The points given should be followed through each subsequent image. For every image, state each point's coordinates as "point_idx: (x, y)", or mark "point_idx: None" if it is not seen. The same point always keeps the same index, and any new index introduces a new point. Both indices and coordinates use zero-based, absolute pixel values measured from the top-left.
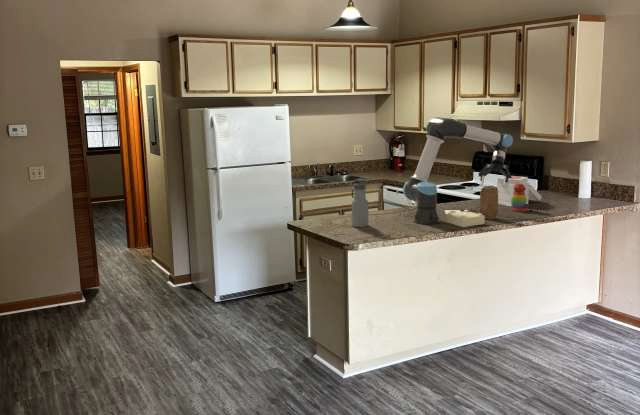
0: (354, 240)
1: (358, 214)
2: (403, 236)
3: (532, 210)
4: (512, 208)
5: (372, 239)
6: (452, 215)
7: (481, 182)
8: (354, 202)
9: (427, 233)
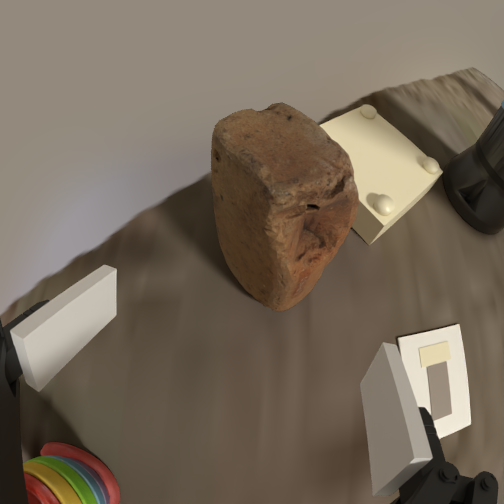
0: (484, 81)
1: None
2: (443, 81)
3: None
4: (109, 482)
5: (470, 79)
6: (413, 145)
7: (397, 357)
8: None
9: (416, 88)
